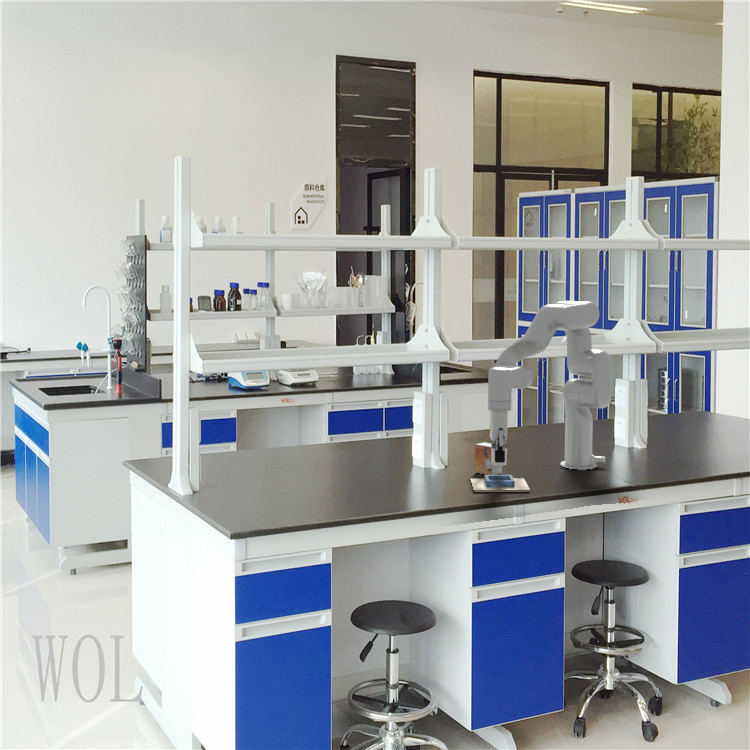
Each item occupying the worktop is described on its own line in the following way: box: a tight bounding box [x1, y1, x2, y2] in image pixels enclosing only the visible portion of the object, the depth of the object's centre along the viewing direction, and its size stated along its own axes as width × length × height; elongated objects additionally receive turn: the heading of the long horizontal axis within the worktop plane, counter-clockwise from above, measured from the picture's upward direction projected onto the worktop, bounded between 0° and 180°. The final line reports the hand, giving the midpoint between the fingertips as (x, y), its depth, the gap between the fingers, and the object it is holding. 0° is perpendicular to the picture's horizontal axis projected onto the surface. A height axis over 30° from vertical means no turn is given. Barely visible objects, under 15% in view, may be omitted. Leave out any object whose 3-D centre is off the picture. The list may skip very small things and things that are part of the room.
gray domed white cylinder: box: [491, 441, 508, 467], centre depth 322 cm, size 5×5×7 cm
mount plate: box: [469, 474, 531, 491], centre depth 324 cm, size 18×16×3 cm
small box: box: [474, 441, 503, 475], centre depth 342 cm, size 8×6×10 cm
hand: (498, 459), depth 323 cm, fingers closed on gray domed white cylinder, 5 cm apart
